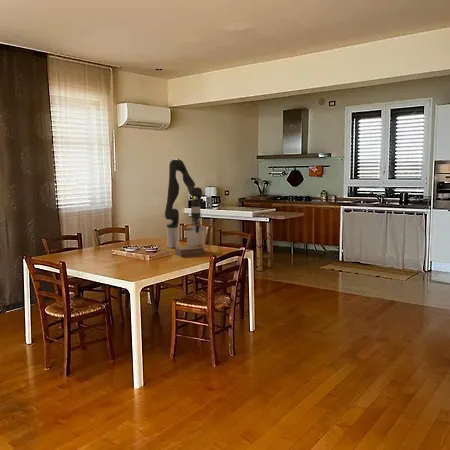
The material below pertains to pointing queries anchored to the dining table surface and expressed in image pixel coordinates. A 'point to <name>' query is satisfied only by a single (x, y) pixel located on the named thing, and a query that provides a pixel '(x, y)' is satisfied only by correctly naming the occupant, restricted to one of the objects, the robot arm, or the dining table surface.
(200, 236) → the cracker box
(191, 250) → the walnut block
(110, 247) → the dining table surface
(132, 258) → the dining table surface
